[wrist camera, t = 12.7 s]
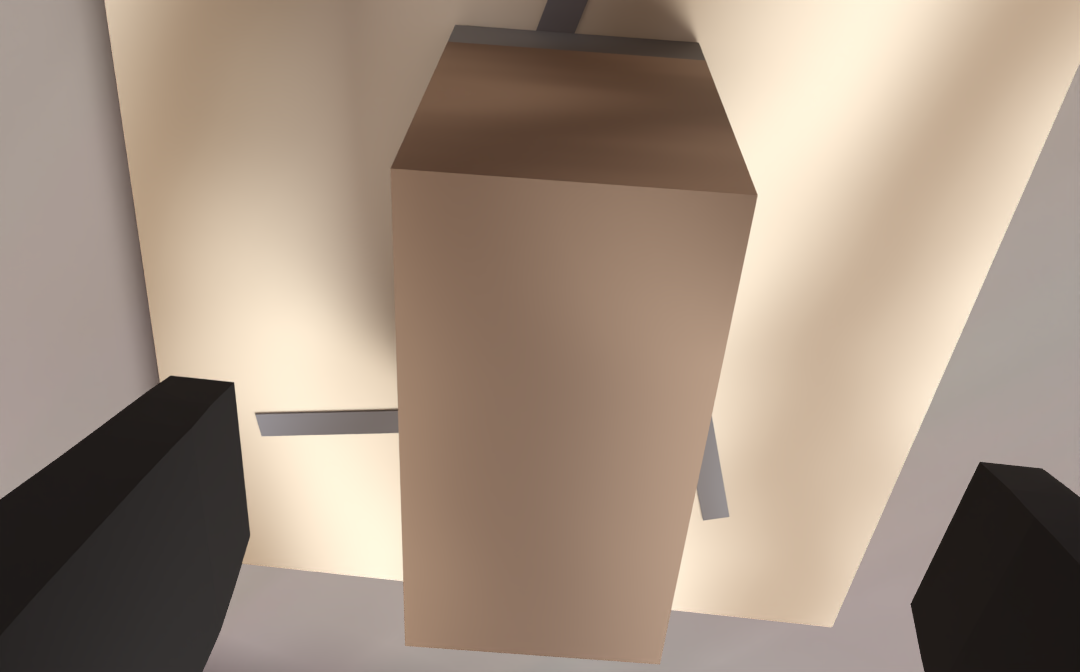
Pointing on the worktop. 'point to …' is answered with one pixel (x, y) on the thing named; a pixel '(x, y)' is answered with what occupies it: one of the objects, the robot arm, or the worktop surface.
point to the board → (765, 285)
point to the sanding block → (559, 335)
